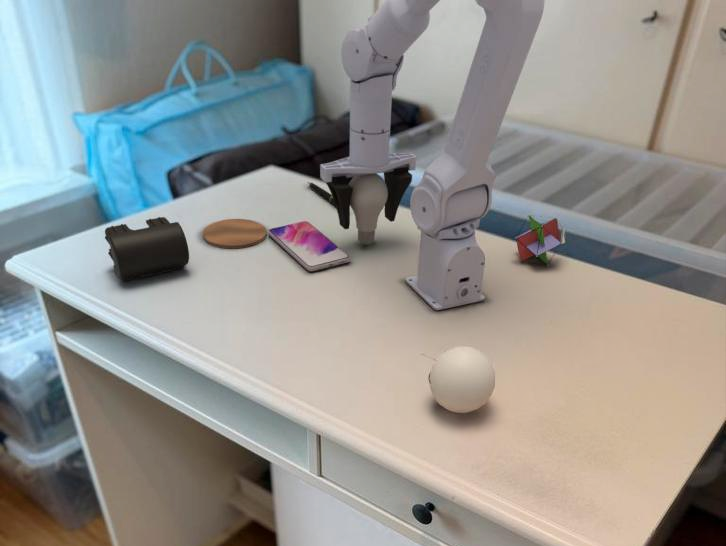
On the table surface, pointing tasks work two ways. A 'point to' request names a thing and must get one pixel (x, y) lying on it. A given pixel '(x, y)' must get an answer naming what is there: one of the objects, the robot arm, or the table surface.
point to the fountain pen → (322, 193)
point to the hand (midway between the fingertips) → (367, 222)
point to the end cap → (147, 248)
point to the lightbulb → (367, 204)
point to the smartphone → (309, 246)
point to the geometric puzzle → (539, 239)
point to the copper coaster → (234, 233)
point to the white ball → (462, 379)
